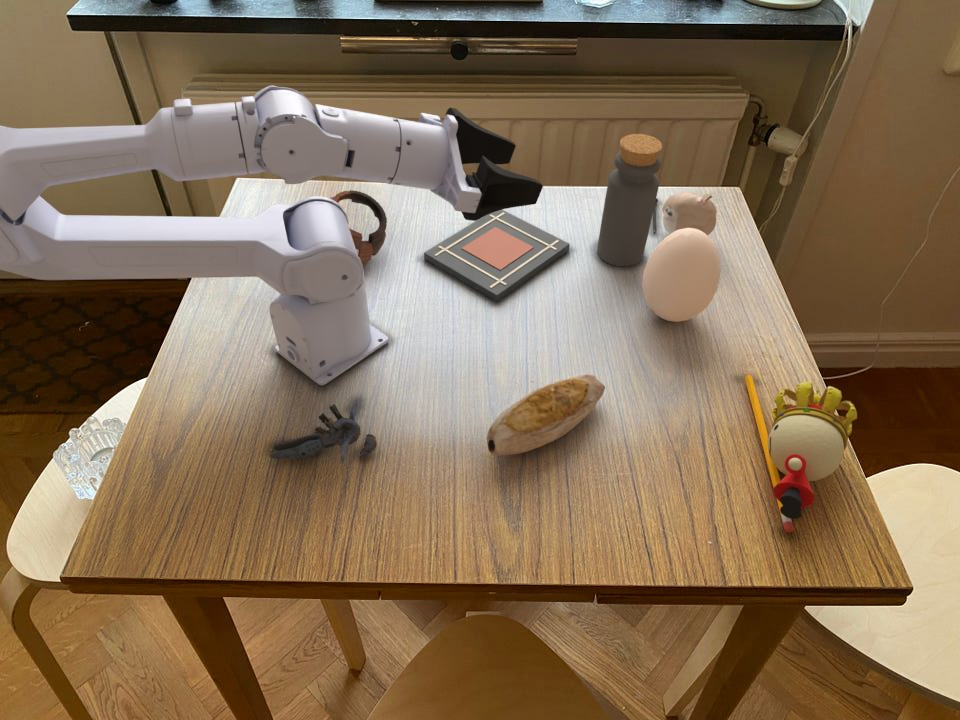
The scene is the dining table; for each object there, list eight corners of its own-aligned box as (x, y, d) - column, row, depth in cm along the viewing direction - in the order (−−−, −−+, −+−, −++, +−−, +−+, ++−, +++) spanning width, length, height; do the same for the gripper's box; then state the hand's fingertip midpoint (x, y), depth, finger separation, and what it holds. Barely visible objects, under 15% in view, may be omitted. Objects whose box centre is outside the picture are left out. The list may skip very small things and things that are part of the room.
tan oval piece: (616, 412, 70) (623, 382, 67) (503, 480, 64) (505, 450, 61) (581, 381, 73) (586, 350, 70) (470, 443, 67) (470, 413, 64)
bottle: (652, 261, 88) (678, 151, 78) (610, 271, 87) (631, 160, 76) (628, 235, 92) (650, 127, 82) (588, 244, 91) (605, 135, 80)
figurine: (244, 462, 59) (267, 513, 61) (355, 433, 58) (374, 485, 60) (275, 401, 70) (293, 445, 72) (367, 376, 70) (384, 421, 71)
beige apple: (658, 246, 90) (671, 192, 85) (657, 219, 95) (670, 165, 89) (710, 252, 90) (727, 197, 84) (707, 224, 94) (723, 170, 88)
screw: (655, 203, 98) (649, 200, 98) (659, 198, 98) (653, 195, 97) (655, 237, 93) (649, 233, 93) (660, 231, 92) (653, 228, 92)
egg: (701, 345, 78) (729, 262, 70) (629, 329, 79) (649, 245, 71) (709, 301, 83) (736, 219, 75) (641, 286, 85) (660, 204, 77)
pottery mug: (349, 218, 94) (372, 178, 88) (381, 277, 92) (407, 240, 86) (266, 231, 87) (285, 187, 81) (299, 294, 85) (321, 255, 79)
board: (496, 302, 82) (497, 294, 81) (423, 259, 88) (423, 251, 87) (569, 250, 90) (570, 243, 89) (497, 213, 95) (498, 206, 94)
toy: (747, 523, 63) (778, 406, 72) (837, 544, 60) (857, 418, 69) (748, 472, 59) (780, 354, 68) (845, 491, 55) (865, 364, 64)
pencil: (783, 532, 61) (785, 527, 60) (743, 379, 74) (745, 374, 73) (792, 532, 61) (795, 528, 60) (751, 379, 74) (753, 375, 73)
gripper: (422, 150, 56) (568, 174, 62) (384, 73, 65) (514, 100, 71) (400, 225, 60) (538, 241, 66) (368, 142, 70) (491, 162, 76)
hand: (524, 172), depth 69 cm, fingers open, 7 cm apart
